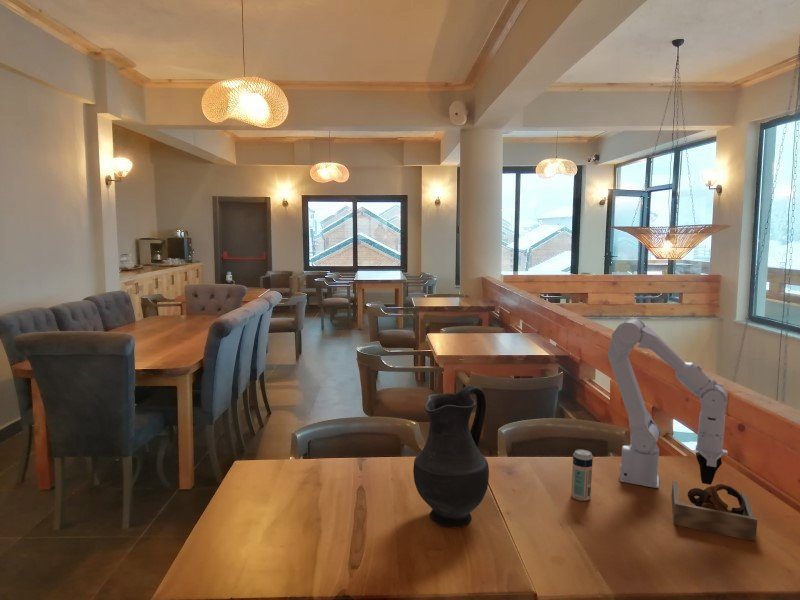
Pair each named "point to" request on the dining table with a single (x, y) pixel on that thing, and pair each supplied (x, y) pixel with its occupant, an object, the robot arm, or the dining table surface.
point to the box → (714, 518)
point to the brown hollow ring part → (716, 498)
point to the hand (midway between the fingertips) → (706, 482)
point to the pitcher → (453, 458)
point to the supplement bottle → (582, 475)
